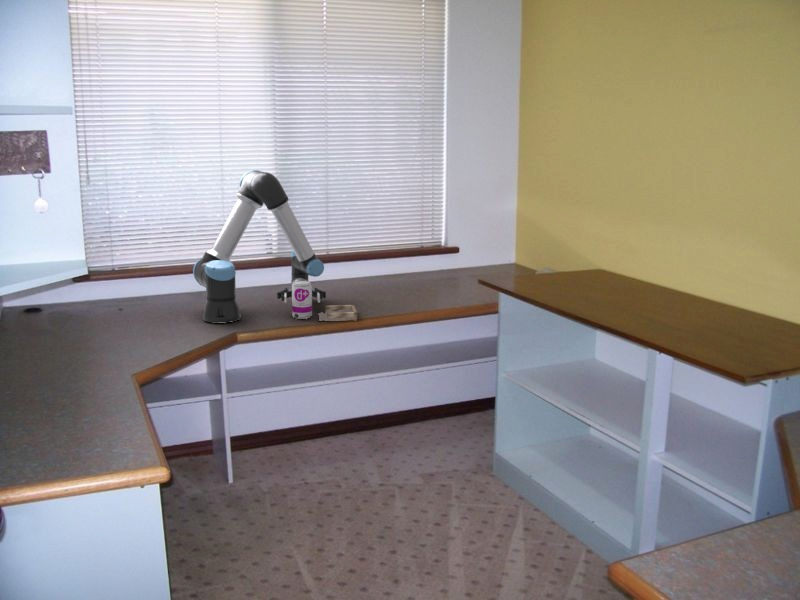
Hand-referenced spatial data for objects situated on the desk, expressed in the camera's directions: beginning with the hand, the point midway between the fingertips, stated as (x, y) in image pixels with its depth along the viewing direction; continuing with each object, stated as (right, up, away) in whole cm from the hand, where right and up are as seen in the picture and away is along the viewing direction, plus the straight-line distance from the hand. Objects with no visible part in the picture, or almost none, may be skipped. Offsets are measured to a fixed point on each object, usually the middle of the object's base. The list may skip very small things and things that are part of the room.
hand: (302, 299), depth 308 cm
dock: (+14, -7, +7) cm, 17 cm away
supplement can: (-1, -8, +5) cm, 9 cm away
